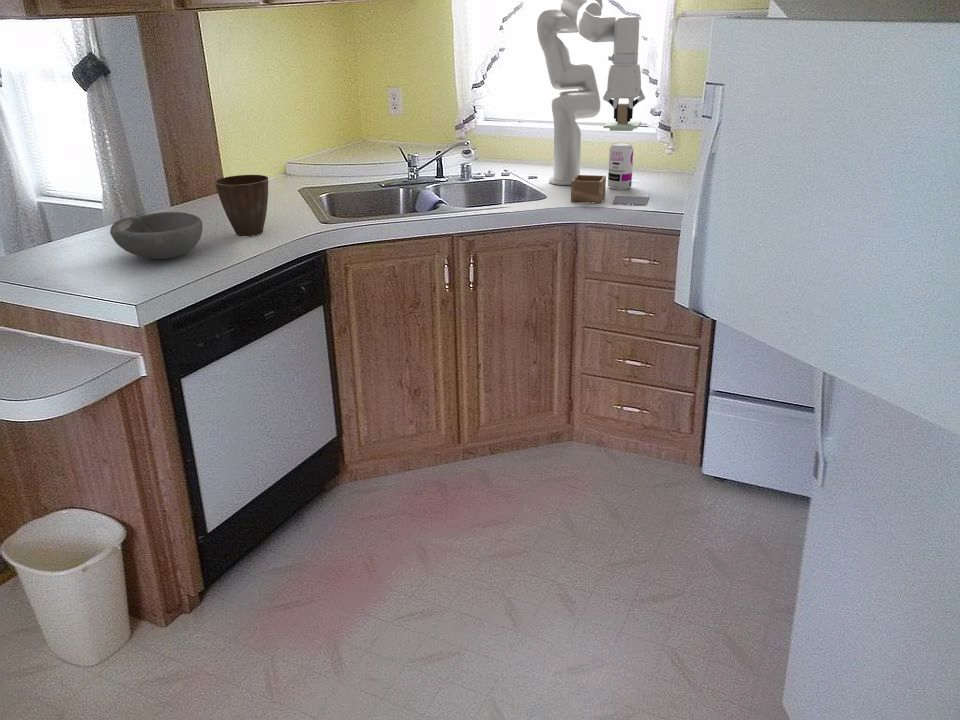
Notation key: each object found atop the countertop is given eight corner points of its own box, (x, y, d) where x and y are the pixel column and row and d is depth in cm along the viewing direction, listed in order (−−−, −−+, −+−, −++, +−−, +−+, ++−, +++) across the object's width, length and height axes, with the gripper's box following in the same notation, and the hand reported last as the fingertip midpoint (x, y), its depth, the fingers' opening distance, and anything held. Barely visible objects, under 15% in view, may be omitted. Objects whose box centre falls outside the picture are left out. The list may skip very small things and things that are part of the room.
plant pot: (212, 238, 237) (203, 183, 230) (242, 225, 250) (235, 173, 243) (256, 242, 232) (248, 186, 225) (284, 229, 245) (278, 175, 238)
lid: (608, 127, 265) (609, 102, 262) (641, 127, 262) (642, 102, 259) (603, 131, 256) (604, 105, 253) (636, 131, 253) (637, 105, 250)
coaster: (615, 196, 274) (615, 195, 274) (648, 198, 272) (648, 196, 271) (611, 204, 265) (611, 203, 265) (645, 205, 262) (645, 204, 262)
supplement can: (630, 185, 291) (632, 142, 285) (631, 190, 283) (634, 146, 277) (607, 185, 291) (609, 142, 285) (608, 190, 284) (610, 146, 278)
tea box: (575, 195, 277) (576, 174, 275) (605, 196, 275) (606, 175, 272) (570, 202, 269) (571, 180, 266) (601, 203, 266) (601, 182, 263)
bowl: (143, 275, 206) (136, 236, 202) (102, 259, 220) (94, 222, 216) (223, 254, 222) (217, 218, 218) (180, 240, 235) (174, 206, 231)
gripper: (596, 60, 250) (595, 122, 258) (650, 60, 246) (647, 122, 253) (601, 59, 257) (599, 119, 264) (653, 58, 252) (650, 119, 259)
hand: (622, 120), depth 258 cm, fingers closed on lid, 3 cm apart
